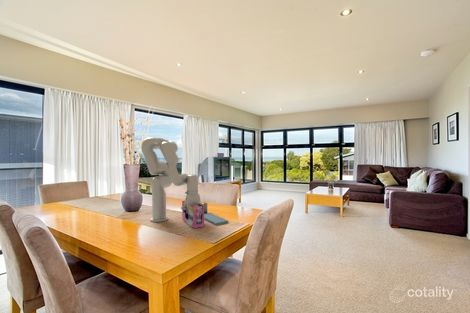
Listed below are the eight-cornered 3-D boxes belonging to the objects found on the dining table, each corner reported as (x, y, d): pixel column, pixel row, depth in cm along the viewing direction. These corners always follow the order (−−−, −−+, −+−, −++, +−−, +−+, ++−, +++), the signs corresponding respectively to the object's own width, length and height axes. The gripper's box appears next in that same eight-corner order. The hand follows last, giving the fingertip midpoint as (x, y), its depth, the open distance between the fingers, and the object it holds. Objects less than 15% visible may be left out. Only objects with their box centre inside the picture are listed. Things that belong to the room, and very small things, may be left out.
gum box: (205, 227, 150) (205, 206, 149) (194, 229, 145) (194, 208, 145) (192, 217, 170) (192, 199, 169) (181, 219, 166) (181, 200, 165)
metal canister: (200, 213, 183) (199, 203, 183) (205, 212, 186) (205, 202, 186) (202, 214, 179) (202, 204, 179) (208, 213, 182) (208, 203, 181)
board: (199, 217, 172) (199, 215, 172) (210, 214, 178) (210, 212, 178) (215, 225, 152) (215, 223, 152) (228, 222, 158) (228, 220, 158)
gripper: (182, 195, 149) (183, 221, 150) (206, 191, 159) (206, 216, 160) (178, 193, 155) (178, 218, 156) (201, 190, 165) (201, 214, 166)
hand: (192, 217), depth 158 cm, fingers closed on gum box, 8 cm apart
